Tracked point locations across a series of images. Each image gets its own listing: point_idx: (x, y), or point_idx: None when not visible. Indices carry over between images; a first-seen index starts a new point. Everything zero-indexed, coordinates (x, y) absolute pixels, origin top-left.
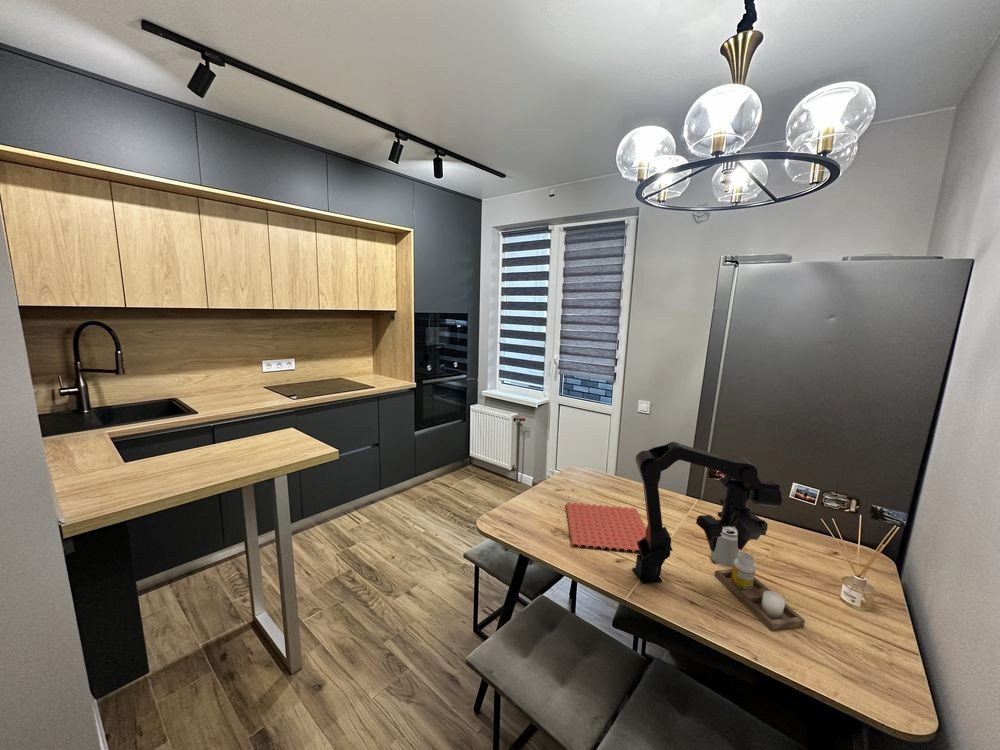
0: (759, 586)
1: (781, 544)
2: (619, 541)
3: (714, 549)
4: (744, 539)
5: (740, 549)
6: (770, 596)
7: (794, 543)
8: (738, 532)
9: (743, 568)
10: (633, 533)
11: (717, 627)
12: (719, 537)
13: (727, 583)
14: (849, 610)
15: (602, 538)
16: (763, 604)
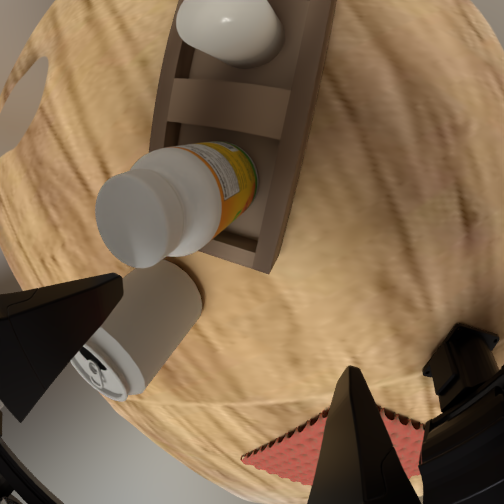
0: (168, 140)
1: (32, 253)
2: (393, 442)
3: (354, 379)
4: (47, 314)
5: (120, 278)
6: (231, 15)
7: (18, 244)
8: (54, 372)
9: (201, 181)
10: None
11: (485, 104)
12: (146, 369)
13: (287, 200)
14: (54, 58)
15: (412, 451)
16: (272, 35)
